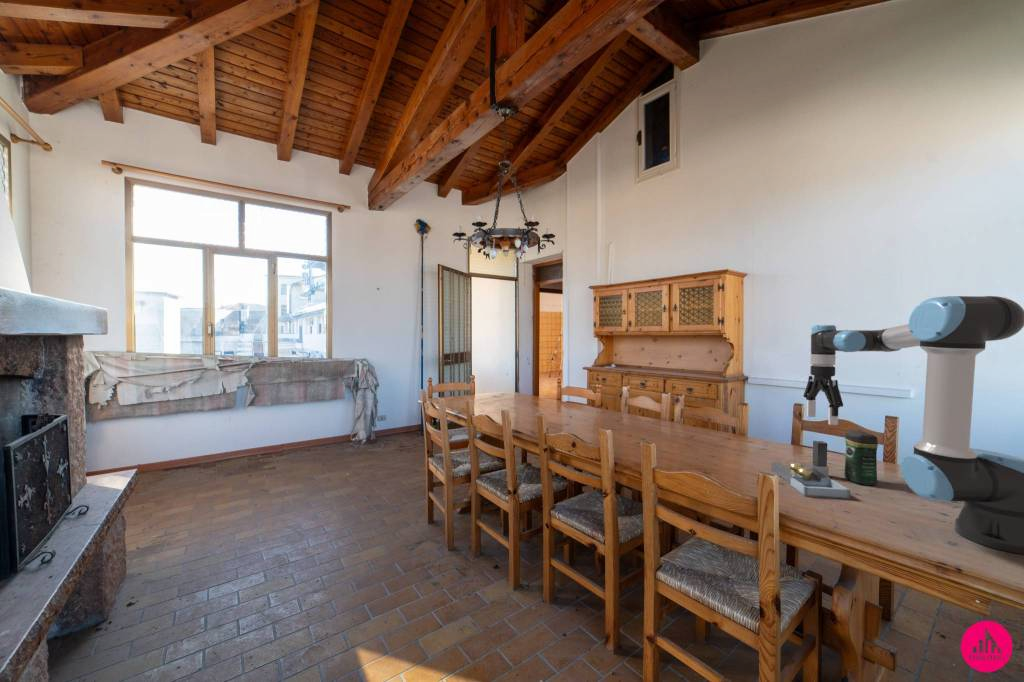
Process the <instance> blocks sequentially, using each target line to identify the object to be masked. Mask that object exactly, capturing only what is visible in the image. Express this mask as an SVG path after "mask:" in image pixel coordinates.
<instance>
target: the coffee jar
mask: <svg viewBox="0 0 1024 682" xmlns="http://www.w3.org/2000/svg"><path fill="white" fill-rule="evenodd" d="M844 436H845V437H844V441H845V461H844V477H845V478H846V479H847V480H849V481H851V482H853V483H855V484H860V485H864V486H873V485H877V483H878V468H877V465H878V464H877V457H878V456H877V453H878V452H877V451H878V447H879V442H878V441H879V440H878V437H877V436H875V435H874V434H871V433H868V432H865V431H864V430H863V431H862V430H860V429H859V430H858V429H849V430H847V431H846V432H845V435H844Z"/></svg>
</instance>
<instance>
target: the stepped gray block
mask: <svg viewBox="0 0 1024 682" xmlns="http://www.w3.org/2000/svg"><path fill="white" fill-rule="evenodd" d="M827 464H828V443H827V442H825V441H822V440H812V463H810V467H812V468H814V469H815V470H817V471H819V472H820V473H822V474H824V475H826V476H827V477H829V473H830V471H829V470H830V469H829V466H828V465H827Z"/></svg>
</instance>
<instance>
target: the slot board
mask: <svg viewBox="0 0 1024 682" xmlns="http://www.w3.org/2000/svg"><path fill="white" fill-rule="evenodd" d="M799 463H800V464H802V465H803V467H805V468H809V469H811V470H812V478H811V479H804V478H802V476H800V475H799V474H797V473H796V472H794V471H793V470H791V469H790V466H786V465H785V464H783V463H782V462H779V461H778V462H777V461H772V462H771V471H772V470H773V471H774V472H775V473H774V472H773V471H772V472H773V473H774V474H776V473H777V474H776V475H777V476H779V477H780V476H781V477H783V478H784V479H785V480H786V481H785V480H784V479H783V480H784V481H785V482H787V483H788V485H789V484H790V485H791V478H794V479H796V480H797V481H798V482H800V483H801V484H803V485H806V486H825V487H830V480H832V479H831V478H830V477H829V476H828V477H827V476H826V475H824V474H822V473H820V472H819V471H817V470H815V469H814V468H812V467H811V465H808V464H807V463H803V462H802V463H801V462H799ZM781 477H780V478H781Z"/></svg>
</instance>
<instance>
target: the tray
mask: <svg viewBox="0 0 1024 682" xmlns="http://www.w3.org/2000/svg"><path fill="white" fill-rule="evenodd" d="M790 487H791V488H793V489H794V490H796V491H797V492H798V493H800V494H801V495H802V496H803V497H807V498H808V497H809V496H810V497H811V498H812V497H813V498H831V499H843V500H844V499H848V500H850V499H851V489H849V488H847V487H846V486H844V485H842V484H841V483H839V482H837V481H836V480H834V479H830V487H825V486H806V485H803V484H801V483H800V482H798V481H797V480H796V479H794V478H791V484H790Z"/></svg>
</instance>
